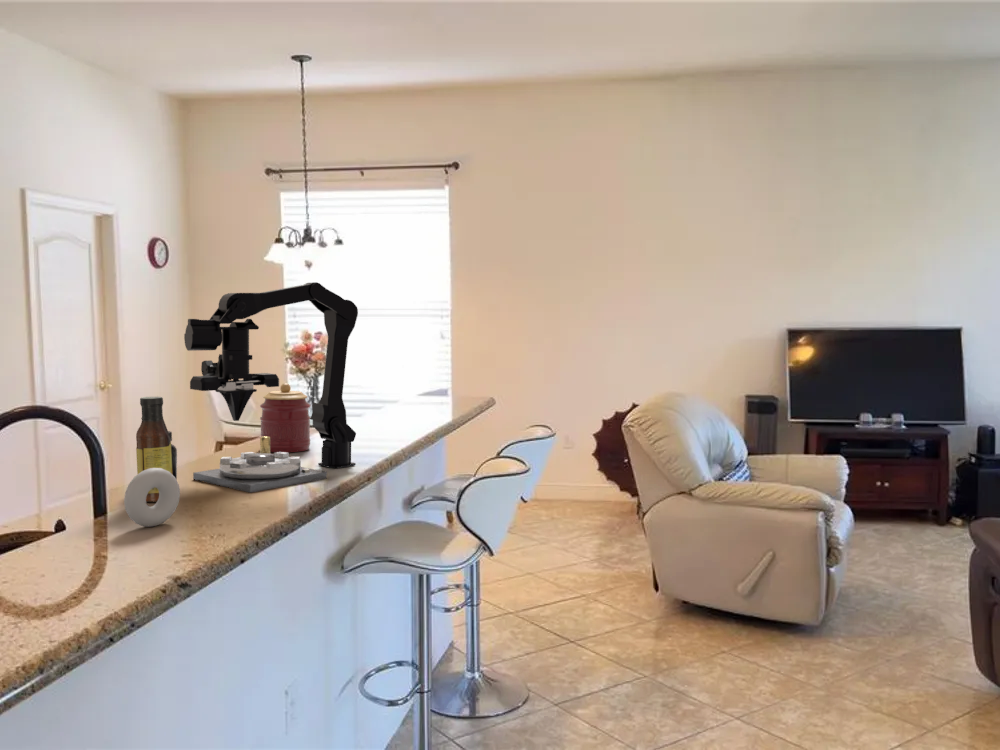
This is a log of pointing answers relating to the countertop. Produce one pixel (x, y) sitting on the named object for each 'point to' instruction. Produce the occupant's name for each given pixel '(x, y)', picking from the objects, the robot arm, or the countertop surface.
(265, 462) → the lugged silver disc
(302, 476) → the flat gray square plate
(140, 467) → the sauce bottle
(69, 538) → the countertop surface
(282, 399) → the canister
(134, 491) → the donut
